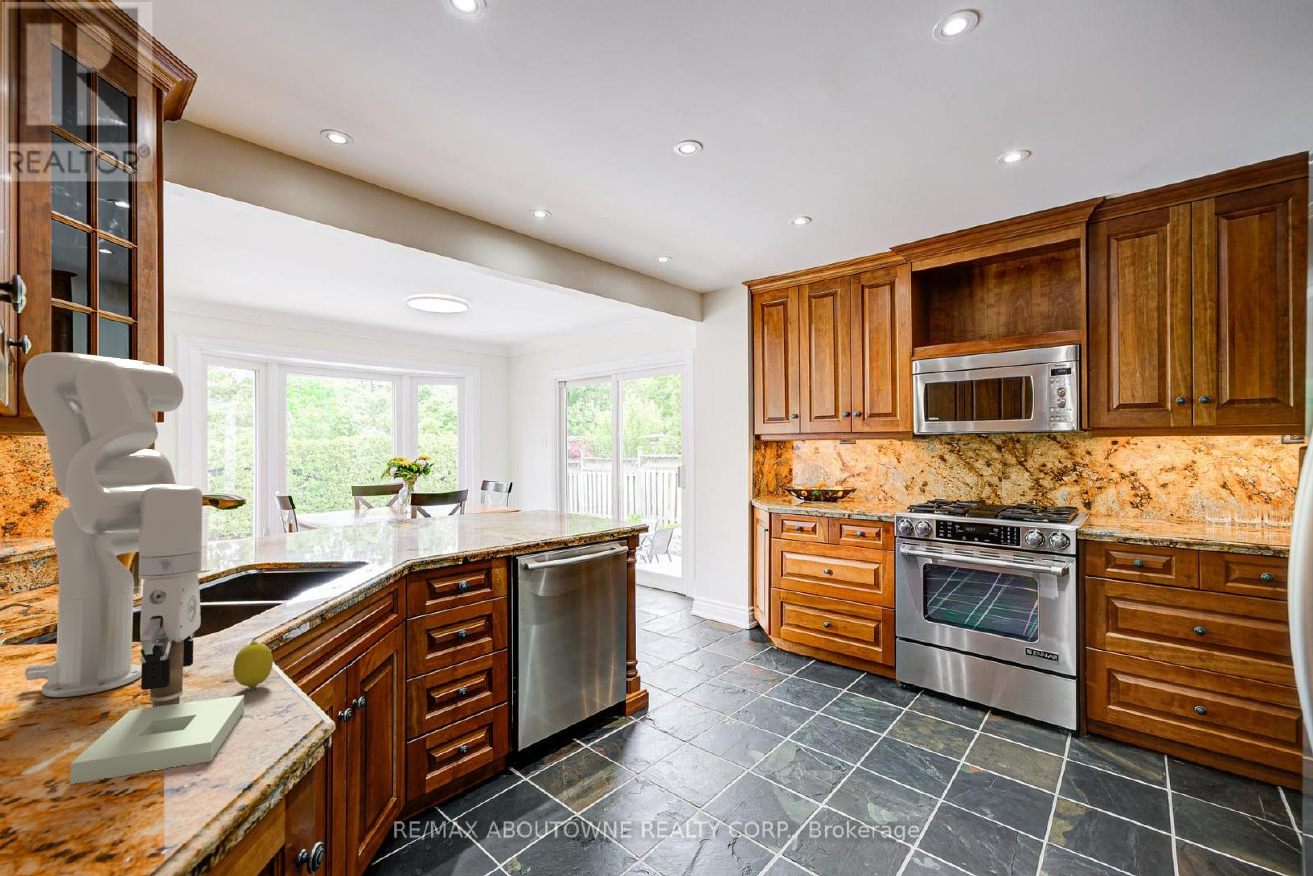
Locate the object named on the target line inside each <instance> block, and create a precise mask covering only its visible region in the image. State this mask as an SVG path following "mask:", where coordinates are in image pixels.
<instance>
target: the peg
mask: <svg viewBox="0 0 1313 876" xmlns="http://www.w3.org/2000/svg"><path fill="white" fill-rule="evenodd" d="M159 647H160V649H161V651H162V648H163V646H159ZM183 650H184V640H183V641H181V642H178V643H177V642H175V640H174V641H172V642H171V646H170V650H169V653H168V657H167V659H169V658H170V684H169V685H168V686H167V687H164V688H156V689H149V690H150V691H149V693H150V695H149V701H150V702H152V707H158V706H165V705H173V704H181V702H180V698H181V696H182V695H183V694H184V693H183V692H184V691H183V690H184V689H183V685H184V684H183V681H184V680H183V678H184V667H183Z"/></svg>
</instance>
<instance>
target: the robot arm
mask: <svg viewBox="0 0 1313 876" xmlns="http://www.w3.org/2000/svg"><path fill="white" fill-rule="evenodd" d="M22 374H23V377H22V378H23V379H22V384H23V392H24V396H25V398H26V401H27V403H28V405H29V408H30V411H32V413H33V415H34V416H35V418H36V419H37V421H38V422H39V424H40V426H41V428H42V430H43V432H44V435H45V437H46V441H47V447H48V451H49V457H50V461H51V467H52V470H53V476H54V481H55V484H56V487H57V489H58V492H59V493H60V494H61V495H62V496H63V498H67V499H68V502H69V505H70V506H68V507H66V508H64V509H62V510H61V511H60V512H59V513H58V514H57V515H56V516H55V518H54V521H53V523H52V535H53V540H54V541H53V542H54V548H55V551H56V556H57V557H56V559H57V565H58V595H57V596H58V597H57V598H58V599H57V600H58V601H57V602H58V603H57V626H56V627H57V629H56V631H57V632H56V655H55V656H56V658H55V660H56V661H53V662H52V663H50V664H44V663H42V664H34V665H28V666H27V667H26V669H25V670H24V671H25V672H24V677H25V678H26V680H27V681H34V680H39V679H45V680H47V681H46V682H45V683H44V684H43V685H42V687H41V694H42V695H44V696H45V697H51V698H52V697H53V698H68V697H69V698H70V697H77V696H85V695H90V694H95V693H100V692H105V691H108V690H112V689H115V688H116V689H117V688H119V687H121V686H125V685H128V684H130V683H132V682H134V681H136V680H137V679H139V678H141V683H140V685H141V686H140V688H141V690H143V691H145V690H146V691H147V690H150V689H156V688H164V687H167V686H168V685H169V684H170V658H169V659H167V657H168V653H169V650H170V646H171V642H172V641H174V640H175V642H177V643H178V642H181V641H183V640H184V650H183V668H184V667H190V666H192V665H193V663H194V637H195V632H196V631H197V630H198V629H199V628H200V627H201V620H202V619H201V618H202V617H201V598H200V597H201V594H200V592H201V591H200V581H199V575H198V574H200V573H201V572H202V557H203V556H202V553H203V552H202V549H203V546H202V545H203V543H202V542H203V541H202V540H203V493H202V490H201V489H200V488H199V487H197V486H191V485H179V484H177V482H176V478H175V474H174V471H173V468H172V464H171V462H170V461H169V459H168V458H167V457H166V456H165V455H164V454H163V453H161V452H159V451H158V450H154V449H149V448H148V447H150V446H151V445H153V444H154V443H155V441H156V440H157V439H158V435H159V432H158V427H157V425H156V422H155V419H154V416H153V414H152V412H162V413H163V412H164V413H166V412H167V413H168V412H172V411H174V410H176V409H179V406H181V404H182V403H183V399H184V387H183V383H182V381H181V379H180V377H179V375H177V373H176V372H175V371H173V370H172V369H171V368H169V367H167V366H161V365H157V364H156V363H155V364H154V363H151V362H147V361H143V360H142V361H141V360H134V359H127V358H126V359H125V358H119V357H117V358H116V357H111V356H110V357H108V356H101V355H93V354H88V353H87V354H86V353H85V354H83V353H78V352H77V353H76V352H60V351H59V352H58V351H57V352H54V351H53V352H43V353H40V354H37V355H33V357H31V358H30V359H28V361H27V363H26V364H25V367H24V369H23V373H22ZM137 552H138V579H139V580H144V581H143V582H144V583H143V588H142V598H141V607H140V622H139V623H140V626H139V627H140V628H139V629H140V630H139V633H140V645H141V649H140V654H141V658H140V663H141V665H140V664H139V665H138V664H135V663H132V653H133V651H132V650H133V623H134V622H133V621H134V620H133V619H134V617H133V616H134V590H135V579H134V576H133V574H132V572H131V571H130V569H129V568H128V567H127V566H125V565H124V564H123V562H121V561H120V560H119V559H118V557H117V556H119V555H122V554H123V555H124V554H129V553H130V554H131V553H137ZM159 646H163V648H162V651H161V649H160V647H159Z"/></svg>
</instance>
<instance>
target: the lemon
mask: <svg viewBox="0 0 1313 876" xmlns="http://www.w3.org/2000/svg"><path fill="white" fill-rule="evenodd" d="M273 661H274V660H273V654H272V651H271V649H270V648H269V646H267V645H266V644H264V643H260V642H257V641H255V640H254V641H251V642H250V643H249V644H247V645H245V646H243V647H242V648H241V649H240V650H239V651H238V653H237V654H236V656H235V659H234V663H233V677H234V678H235V680H236V682H237V683H239V684H240V686H245V687H248V688H249V689H250V690H253V689H256V687H257V686H258V685H260V684H261V683H263V682H264V681H266V679H268V677H269V676H270V674H271V672H272V669H273V664H274V662H273Z"/></svg>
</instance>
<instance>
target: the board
mask: <svg viewBox="0 0 1313 876" xmlns="http://www.w3.org/2000/svg"><path fill="white" fill-rule="evenodd" d="M244 712H245V694H244V695H236V696H228V697H221V698H220V697H219V698H213V699H206V700H197V701H189V702H188V701H187V702H180V703H179V704H173V705H165V706H158V707H153V706H152V707H144V708H136V709H130V710H129V711H127V712H126V713H125V714H124V715H123V716H122V717H121V718H120V719H118V720H117V721H116V722H115V723H114V724H113V725H112V726H111V727H109V728H108V729H107V730H106V731H104V733H103V734H101V735H100V737H98V739H96V740H95V741H94V742H93V743H92V744H91V745H90V746H89V747H87V748H86V749H85V750H84V751H83V752H82V753H80V755H79V756H77V757H76V758H75V759H74V760H73V761H72V762H70V765H69V766H70V767H69V771H70V772H69V785H70V784H71V785H74V784H75V783H77V784H81V783H82V784H83V783H88V782H94V780H95V781H98V780H97V779H101V780H105V779H104V778H107V779H111V778H112V779H113V778H119V777H124V776H125V777H126V776H130V775H136V774H143V773H148V772H147V771H150V770H154V769H162V770H165V769H164V768H168V769H170V768H169V767H174V766H179V765H186V766H191V765H197V764H203V763H209V762H211V761H213V759H214V757H215V756H216V754H217V753H218V752H219V750H220V748H221V747H222V745H223V744H224V743H225V741H226V739H227V738H228V737H229V735H230V733H231V732H232V730H233V729H234V727H235V726H236V724H237V722H239V720H240V718H241V717H242V715H243V714H244ZM174 768H175V767H174ZM142 772H143V773H142ZM150 772H151V771H150ZM75 785H76V784H75Z"/></svg>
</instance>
